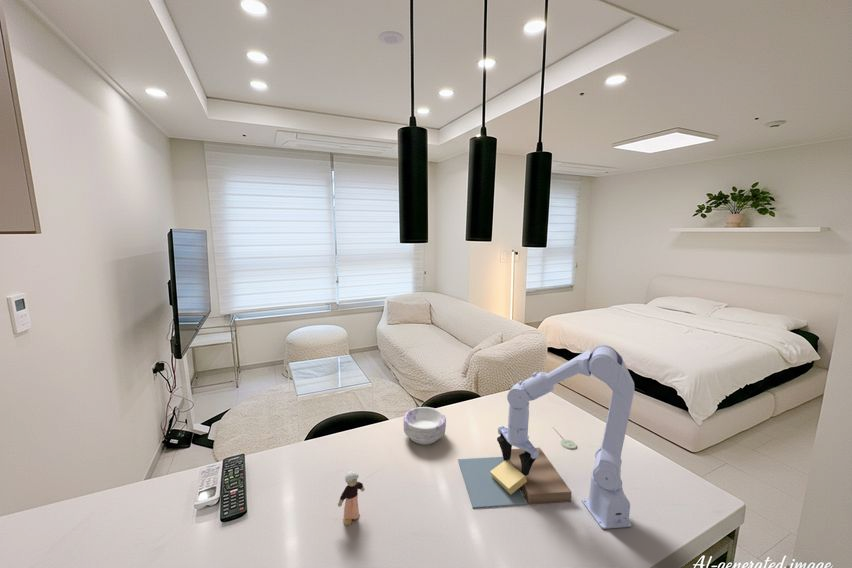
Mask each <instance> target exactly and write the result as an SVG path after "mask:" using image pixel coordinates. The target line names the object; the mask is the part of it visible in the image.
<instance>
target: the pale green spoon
mask: <svg viewBox="0 0 852 568" xmlns="http://www.w3.org/2000/svg"><path fill="white" fill-rule="evenodd" d="M553 430H554V432H556V433H557V435H559V437H560V438H561V440H560V445H561V446H562V447H563V448H564V449H568V450H576V448H577V443H576V442H575V441H574V440H570V439H566V438H564V437H563V436H562V435H561V434H560V433H559V432H558V431H557V429H555V428H553Z"/></svg>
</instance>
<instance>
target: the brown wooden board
mask: <svg viewBox="0 0 852 568" xmlns="http://www.w3.org/2000/svg"><path fill="white" fill-rule="evenodd" d="M535 448H536V449H537V450H538V451H539V454H538V457H537V458H536V460H535V461H534V462H533V464H532V466H531V469H530V471H529V474H528V475H526V476H525V478H526V480H527V482H526V483H525V484H524V485H522V486H521V487H520V488H519V489H520V491H521V493H522V495H523V496H524V498H525V500H526V502H527V505H542V504H555V503H569V502H571V500H572V490H571V489H570V488H569V485H568V484H566V482H565V481H564V479H563V478H562V476H561V475H560V473H559V472H558V471H557V470H556V468H555V467H554V465H553V464H552V462H551V461H550V460H549V458H548V457H547V455H546V454H545V453H544V451H543V450H542V449H541V447H535ZM522 453H525V451H524V450H522V449H520V448H512V449H511V457H510V460H507V462H508V463H510V464H511V465H512V466H513V467H515V468H516V469H517V470H518V471H519V472H521V460H520V457H519V455H520V454H522Z"/></svg>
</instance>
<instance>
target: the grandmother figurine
mask: <svg viewBox="0 0 852 568" xmlns="http://www.w3.org/2000/svg"><path fill="white" fill-rule="evenodd" d="M358 478H359V473H358V472H357V471H354V470H353V471H352V470H350V471H349V472H347V473H346V475H345V477H344V481H345V483H346V484H347V485H346V486H345V488H344V490H343V491H342V493H341V495H340V496H339V500H338V503H337V506H338V507H339V508H340V507H342V506H343V503H344V508H343V519H342V522H343V524H344V526H350V525H351V524H352V523H353V521H352V520H358V519H359V518H360V510H359V500H358V496H359V492H358V491H359V490H360V492H364V491H365V487H364V484H363V482H360V481H358ZM344 500H345V502H344Z"/></svg>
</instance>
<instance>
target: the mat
mask: <svg viewBox="0 0 852 568" xmlns="http://www.w3.org/2000/svg"><path fill="white" fill-rule="evenodd" d="M457 461H458V464H459V467H460V472H461V475H462V478H463V481H464V484H465V488H466V490H467V494H468V497H469V500H470V504H471V507H472V509H473V510H474V509H485V508H486V509H488V508H498V507H499V506H502V507H513V506H514V507H515V505H516V506H526V505H528V502H527V500H526V498H525V496H524V494H523V493H522V491H521V489H520V488H519V489H517V490H516V491H515V492H514V493H512V494H510V493H509V492H508V491H507V490H505V489H504V488H503V487H502V486H501V485H500V484H499V483H498V482H497V481H496V480H495V479H494V478H493V477H492V475H491V473H490V471H491V470H493V469H494V468H495V467H497V466H498V465H499V464H501V463H502V462H503V461H504V459H503V456H493V457H475V458H458V459H457ZM487 507H488V508H487Z"/></svg>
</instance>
